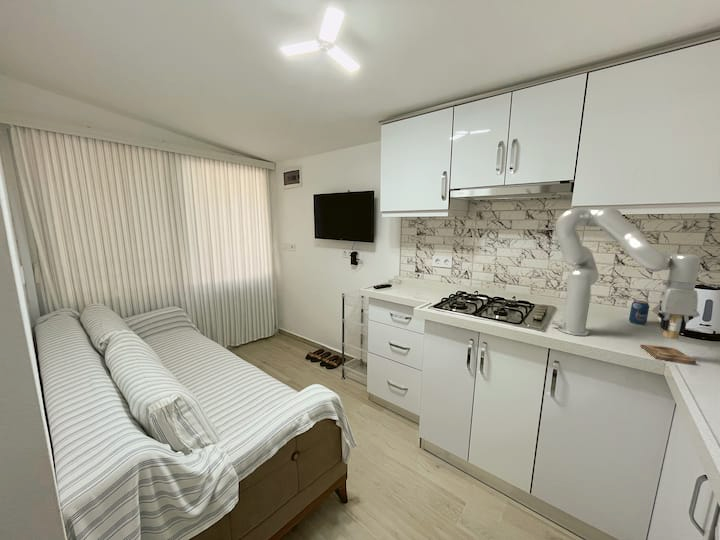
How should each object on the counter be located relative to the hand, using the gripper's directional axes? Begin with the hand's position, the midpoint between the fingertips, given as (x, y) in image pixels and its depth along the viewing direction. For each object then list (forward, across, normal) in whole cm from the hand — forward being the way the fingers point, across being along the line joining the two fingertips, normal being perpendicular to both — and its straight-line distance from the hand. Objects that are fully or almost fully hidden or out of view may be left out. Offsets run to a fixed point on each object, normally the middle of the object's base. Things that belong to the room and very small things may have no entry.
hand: (671, 329), depth 121 cm
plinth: (+11, 0, 0) cm, 11 cm away
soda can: (+11, +9, +46) cm, 48 cm away
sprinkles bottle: (+4, 0, 0) cm, 4 cm away
